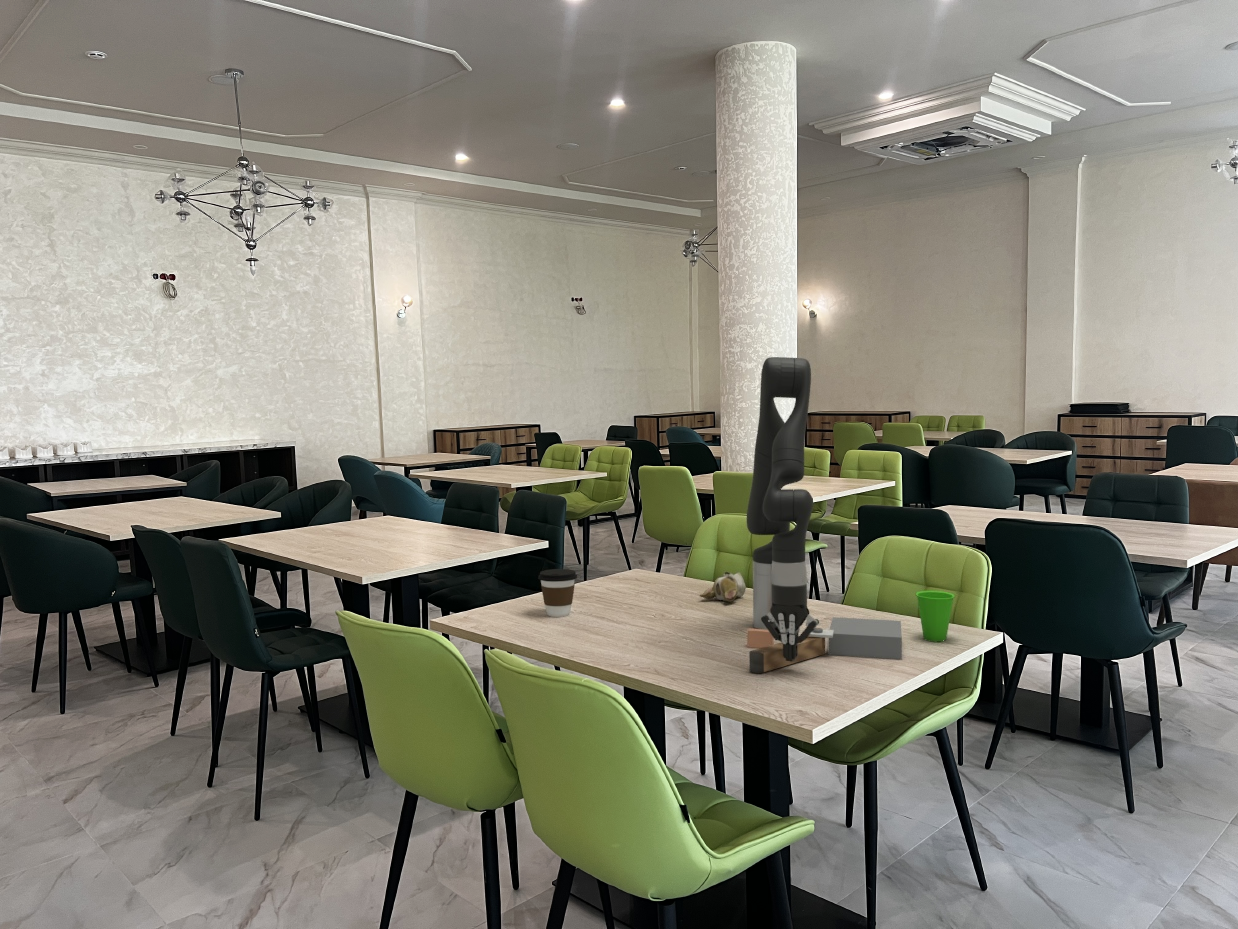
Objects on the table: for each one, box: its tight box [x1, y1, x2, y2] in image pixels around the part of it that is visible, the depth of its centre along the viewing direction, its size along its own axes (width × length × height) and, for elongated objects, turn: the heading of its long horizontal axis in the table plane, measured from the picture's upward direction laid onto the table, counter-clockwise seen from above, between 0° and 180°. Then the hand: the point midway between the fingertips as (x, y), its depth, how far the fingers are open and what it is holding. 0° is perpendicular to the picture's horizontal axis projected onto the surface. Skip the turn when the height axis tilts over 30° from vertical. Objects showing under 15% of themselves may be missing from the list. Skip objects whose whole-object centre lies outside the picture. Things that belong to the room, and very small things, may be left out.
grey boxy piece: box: [746, 616, 903, 660], centre depth 210 cm, size 18×35×6 cm, turn 73°
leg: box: [748, 637, 826, 674], centre depth 197 cm, size 24×4×4 cm, turn 129°
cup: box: [915, 590, 956, 642], centre depth 215 cm, size 9×9×11 cm
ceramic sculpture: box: [699, 571, 747, 603], centre depth 262 cm, size 11×9×15 cm
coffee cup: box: [537, 568, 578, 618], centre depth 246 cm, size 11×11×12 cm
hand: (790, 660), depth 192 cm, fingers closed
